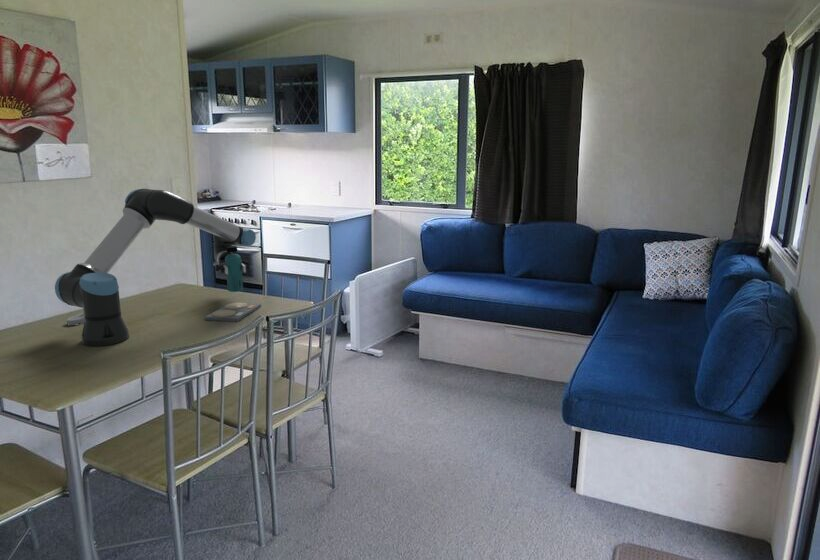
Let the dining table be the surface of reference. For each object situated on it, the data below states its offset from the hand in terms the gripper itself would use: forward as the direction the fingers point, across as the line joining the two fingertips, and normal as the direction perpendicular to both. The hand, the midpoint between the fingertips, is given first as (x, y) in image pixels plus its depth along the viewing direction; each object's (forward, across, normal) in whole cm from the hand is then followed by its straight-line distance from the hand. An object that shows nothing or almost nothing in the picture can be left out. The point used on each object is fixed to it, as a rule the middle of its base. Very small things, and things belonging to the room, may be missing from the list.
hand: (235, 270), depth 242 cm
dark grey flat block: (0, +2, -18) cm, 18 cm away
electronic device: (-15, +57, -18) cm, 62 cm away
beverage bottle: (-5, 0, -11) cm, 12 cm away
